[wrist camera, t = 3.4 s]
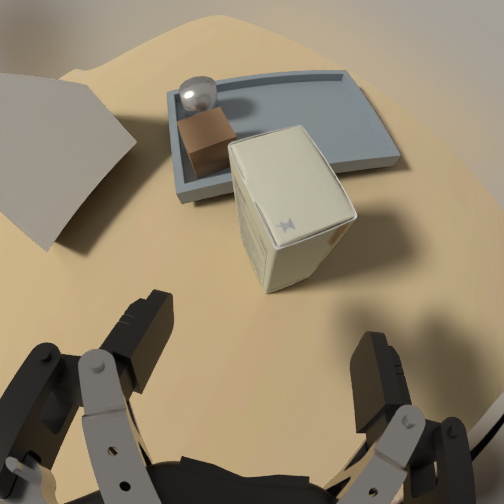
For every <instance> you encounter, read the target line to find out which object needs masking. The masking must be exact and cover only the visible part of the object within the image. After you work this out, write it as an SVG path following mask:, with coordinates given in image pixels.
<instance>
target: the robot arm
mask: <svg viewBox="0 0 504 504" xmlns="http://www.w3.org/2000/svg"><path fill="white" fill-rule="evenodd" d="M173 325H174V312H173V296H172V294H171V293H167V292H164V291H160V290H156V289H154V290H153V291H152V292H151V294H150V295H149V296H148V298H147V299H146V300H145V299H141V298H140V299H138V300H137V301H135V302H134V303H132V304H130V306H129V307H128V309H127V310H126V311H125V313H124V315H122V317H121V318H120V320H119V322H117V324H116V325H115V327H114V328H113V329H112V331H111V332H110V334H109V335H108V337H107V338H106V339H105V341H104V342H103V344H102V345H101V347H100V348H99V349H93V350H90V351H88V352H86V353H85V354H83V355H82V356H74V355H66V354H61V353H60V351H59V349H58V347H57V346H56V345H54V344H52V343H41V344H39V345H37V346H36V347H35V348H34V349H33V350H32V351H31V352H30V354H29V355H28V357H27V358H26V360H25V361H24V363H23V364H22V365H21V367H20V368H19V370H18V371H17V373H16V375H15V376H14V378H13V379H12V381H11V382H10V384H9V385H8V387H7V389H6V390H5V392H4V394H3V395H2V397H1V399H0V499H1V500H3V501H5V502H6V503H7V504H58V502H57V500H56V497H55V491H56V481H55V478H54V476H53V474H52V472H51V469H52V466H53V464H54V461H55V459H56V457H57V454H58V452H59V449H60V447H61V445H62V443H63V440H64V438H65V436H66V434H67V431H68V429H69V427H70V425H71V423H72V421H73V418H74V416H75V414H76V412H77V410H78V408H79V406H80V407H84V411H85V415H84V416H82V426H83V431H84V436H85V440H86V444H87V449H88V452H89V456H90V460H91V464H92V467H93V470H94V474H95V477H96V480H97V483H98V486H99V489H100V490H98V491H95V492H93V493H90V494H88V495H86V496H83V497H81V498H78V499H75V500H73V501H70V502H67V503H64V504H390V503H391V501H392V500H393V498H394V497H395V495H396V494H397V492H398V490H399V489H400V487H401V485H402V484H403V491H404V501H403V504H476V496H475V484H474V475H473V468H472V461H471V455H470V449H469V444H468V438H467V434H466V429H465V426H464V424H463V423H462V421H461V420H459V419H458V418H456V417H448V418H446V419H445V420H444V421H443V422H442V423H438V422H434V421H430V420H427V419H425V417H424V415H423V413H422V412H421V411H420V410H419V409H418V408H417V407H415V406H413V405H412V403H411V399H410V395H409V391H408V387H407V383H406V379H405V376H404V372H403V368H402V367H401V366H402V365H401V361H400V358H399V355H398V354H397V352H396V351H395V349H394V348H393V347H392V346H388V343H387V340H386V336H385V334H384V333H379V332H371V331H367V332H365V334H364V335H363V337H362V339H361V341H360V342H359V344H358V346H357V348H356V350H355V351H354V353H353V355H352V357H351V361H350V373H351V382H352V390H353V400H354V410H355V422H356V433H366V439H365V440H364V441H363V442H362V444H361V445H360V447H359V448H358V449H357V451H356V452H355V453H354V455H353V456H352V457H351V458H350V460H349V461H348V462H347V463H346V465H345V466H344V467H343V468H342V470H341V471H340V472H339V473H338V474H337V475H336V476H335V477H334V478H332V479H331V480H330V481H329V482H328V483H327V484H326V485H325V486H324V487H323V488H321V487H319V486H317V485H315V484H312V483H309V476H291V475H271V476H261V477H242V476H239V475H237V474H234V473H232V472H230V471H227V470H225V469H223V468H221V467H218V466H216V465H214V464H211V463H206V462H202V461H198V460H194V459H191V458H187V457H183V456H182V457H181V460H180V461H167V462H160V463H156V464H153V462H152V460H151V457H150V455H149V452H148V450H147V448H146V446H145V443H144V441H143V439H142V436H141V433H140V430H139V427H138V425H137V422H136V418H135V415H134V412H133V409H132V406H131V402H130V396H131V394H132V392H133V391H134V392H137V393H140V394H142V392H143V390H144V388H145V386H146V384H147V382H148V380H149V378H150V376H151V374H152V372H153V370H154V367H155V365H156V363H157V361H158V359H159V357H160V355H161V353H162V351H163V349H164V347H165V345H166V343H167V341H168V339H169V337H170V335H171V333H172V330H173ZM435 461H436V462H437V472H438V484H437V486H436V480H435V468H434V462H435Z"/></svg>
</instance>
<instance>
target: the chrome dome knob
mask: <svg viewBox="0 0 504 504" xmlns="http://www.w3.org/2000/svg"><path fill="white" fill-rule="evenodd" d="M179 94H180V97H181V101H182V105H183V108H184V112H185V116H186V118H188V117H191V116H194V115H196V114H199V113H202V112H205V111H208V110H211V109H214V108H217V107H219V105H218V97H217V90H216V83H215V81H214V80H213V79H212V78H209V77H205V76H199V77H194V78H191V79H188V80H186V81H185V82H184V83H182V85H181V86H180V88H179Z"/></svg>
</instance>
